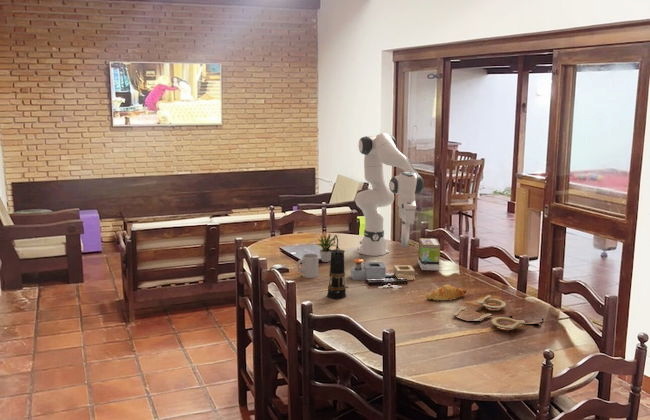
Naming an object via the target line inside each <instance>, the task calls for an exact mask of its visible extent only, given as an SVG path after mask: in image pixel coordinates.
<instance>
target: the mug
mask: <svg viewBox="0 0 650 420" xmlns="http://www.w3.org/2000/svg"><path fill="white" fill-rule="evenodd" d="M300 264H302V266H301V269H300ZM296 270H297V272H298V273H301V274H302V275H301V276H302V277H303V278H307V279H315V278H318V277H319V255H318V254H316V253H315V254H314V253H305V254H303V255H302V257H301V259H299V260H298V261H297V263H296Z"/></svg>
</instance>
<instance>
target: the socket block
mask: <svg viewBox="0 0 650 420" xmlns="http://www.w3.org/2000/svg"><path fill="white" fill-rule="evenodd" d="M362 267H364V268H365V270H366V280H367V279H379V278H385V279H386V270H387V268H386V266H385V264H384V263H383V261H368V262H367V261H366V262H365V261H363V265H362ZM366 280H365V281H366Z"/></svg>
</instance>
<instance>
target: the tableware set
mask: <svg viewBox="0 0 650 420" xmlns="http://www.w3.org/2000/svg"><path fill="white" fill-rule="evenodd" d="M475 303H477V304H479V305H482V306H483V307H484V306H485V307H487V308H491V309H498V308H501V309H504V308H505V307H506V306H507V302H505V301H503V300H501V299H498V298H492V295H490V294H488V295H486V296H485V297H484V298H482V299H478V300H476V302H475ZM488 303H496V304H499V305H500V306H490V305H487V304H488ZM485 307H484V308H485ZM464 310H467V307H466V306H462V305H459V306H458V307H457V310H456V311H455V312H454V313H453V314H452V316H453V317H455V316H458V315H459V313H460V312H461V311H464ZM483 314H484V313H483ZM490 315H492V316H493V314H492V313H486V314H484V315H482V316H479V317H480V318H477V319H474V320H473V321H478V320H481V319H483V318H485V317H487V318H489V317H488V316H490ZM490 317H491V316H490ZM485 319H486V318H485ZM500 321H509V322H513V323H514V324H513V325H511V326H504V325H500V324H498V322H500ZM490 322H491V324H492V325H493V326H495V327H496V326H497V327H500V328H505V329H513V330H514V329H517V328H519V327H520V326H521V325H524V324H523V323H525V321H524V320H515V319H512V318H511V317H504V316H498V317H497V316H496V317H493V318H492V319H491V320H490ZM497 327H496V328H497Z"/></svg>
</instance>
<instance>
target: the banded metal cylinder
mask: <svg viewBox="0 0 650 420" xmlns="http://www.w3.org/2000/svg"><path fill="white" fill-rule="evenodd" d="M410 225H411V224H410ZM410 225H409V230H408V231H406V230H405V222H404V221H403V220H402V219H401V236H400V237H401V239H400V241H401V242H400V244H401V245H400V247H402V248H408V247H409V246H410Z"/></svg>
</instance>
